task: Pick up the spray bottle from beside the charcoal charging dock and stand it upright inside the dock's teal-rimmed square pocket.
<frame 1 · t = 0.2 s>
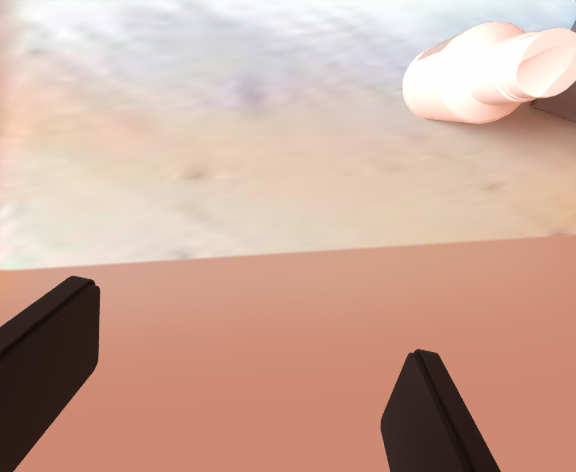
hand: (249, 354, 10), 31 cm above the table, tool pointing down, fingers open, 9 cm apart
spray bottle: (434, 84, 36), on the table
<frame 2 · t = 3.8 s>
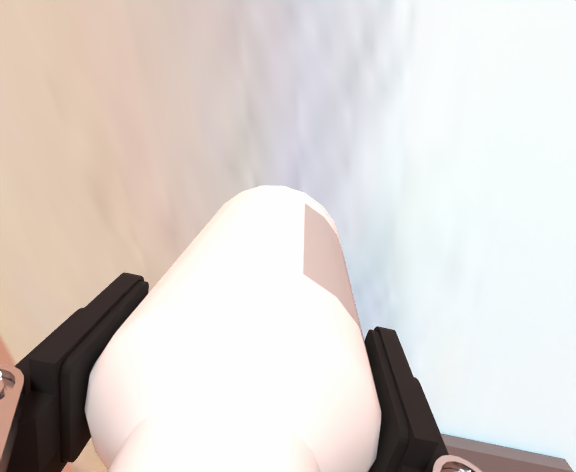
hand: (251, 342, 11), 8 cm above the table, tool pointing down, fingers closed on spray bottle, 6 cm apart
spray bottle: (274, 246, 18), on the table, touching gripper
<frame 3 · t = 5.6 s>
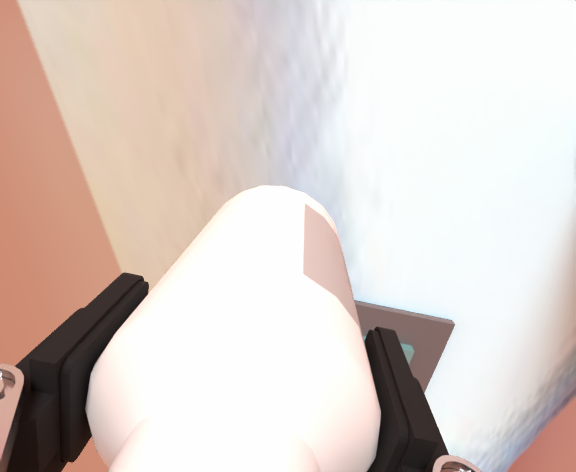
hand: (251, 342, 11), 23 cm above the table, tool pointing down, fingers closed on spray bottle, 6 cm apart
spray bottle: (274, 246, 18), point 15 cm above the table, touching gripper
dock: (336, 375, 40), on the table
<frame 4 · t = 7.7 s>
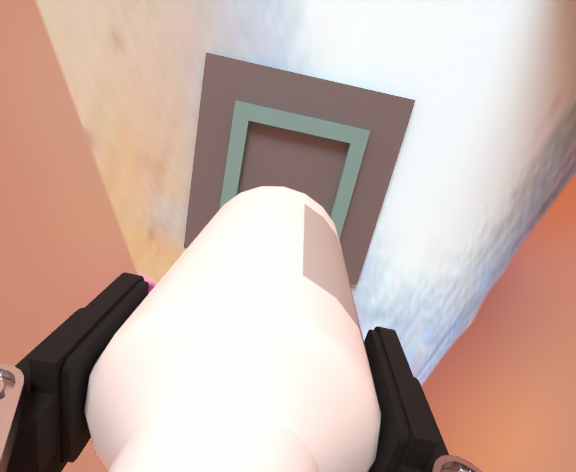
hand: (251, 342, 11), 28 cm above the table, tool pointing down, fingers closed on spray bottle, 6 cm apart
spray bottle: (274, 247, 18), point 20 cm above the table, touching gripper
dock: (289, 179, 37), on the table
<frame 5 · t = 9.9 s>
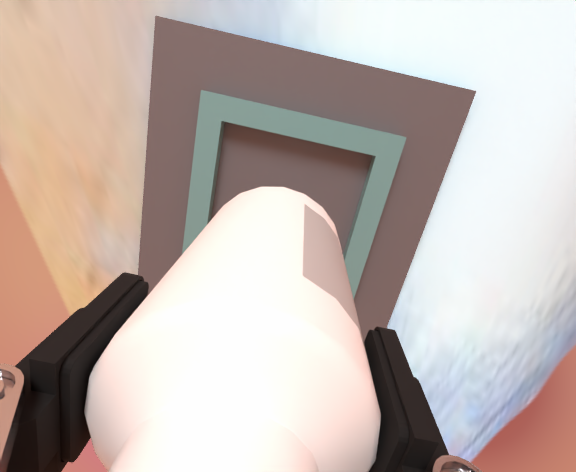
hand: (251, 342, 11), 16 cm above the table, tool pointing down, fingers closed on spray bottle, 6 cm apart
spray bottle: (274, 247, 18), point 8 cm above the table, touching gripper
dock: (284, 205, 26), on the table
when the fingers open (11 cm above the table, at t = 11.9 s): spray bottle drops 2 cm, resting on dock.
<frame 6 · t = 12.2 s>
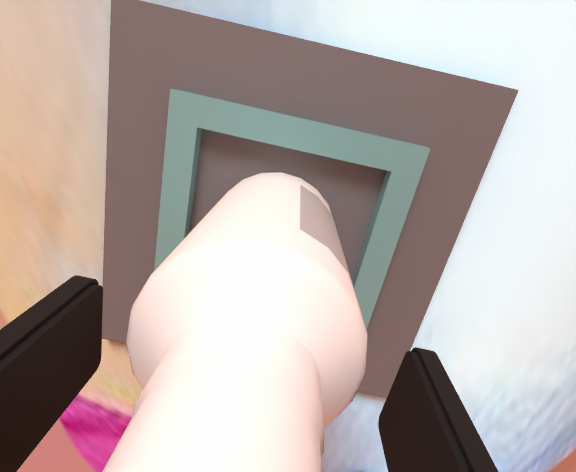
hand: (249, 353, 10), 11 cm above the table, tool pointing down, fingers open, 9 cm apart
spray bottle: (274, 229, 20), point 1 cm above the table, touching dock
dock: (277, 229, 21), on the table
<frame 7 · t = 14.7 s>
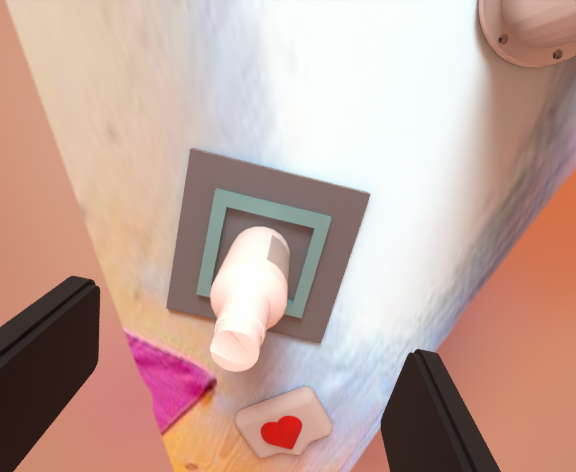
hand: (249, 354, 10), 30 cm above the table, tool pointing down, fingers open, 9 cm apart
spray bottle: (261, 252, 41), point 1 cm above the table, touching dock
icon: (286, 417, 51), on the table
dock: (262, 252, 42), on the table
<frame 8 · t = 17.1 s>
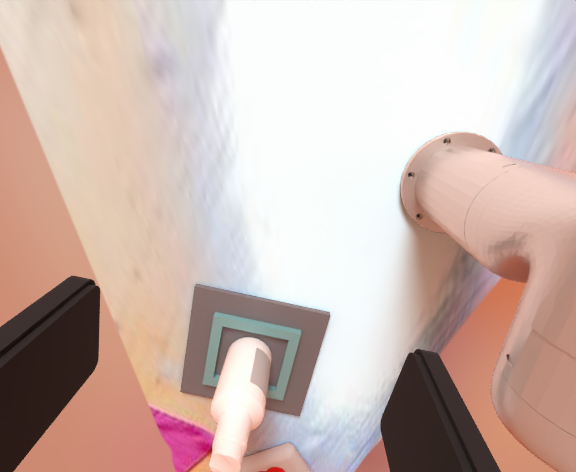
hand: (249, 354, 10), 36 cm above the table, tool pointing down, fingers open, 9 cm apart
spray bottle: (250, 353, 54), point 1 cm above the table, touching dock
icon: (275, 464, 64), on the table
dock: (251, 352, 55), on the table
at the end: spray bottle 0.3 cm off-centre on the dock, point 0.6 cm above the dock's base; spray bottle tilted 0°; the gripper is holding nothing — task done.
